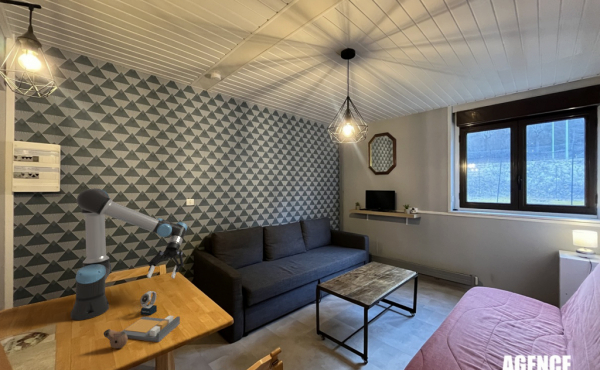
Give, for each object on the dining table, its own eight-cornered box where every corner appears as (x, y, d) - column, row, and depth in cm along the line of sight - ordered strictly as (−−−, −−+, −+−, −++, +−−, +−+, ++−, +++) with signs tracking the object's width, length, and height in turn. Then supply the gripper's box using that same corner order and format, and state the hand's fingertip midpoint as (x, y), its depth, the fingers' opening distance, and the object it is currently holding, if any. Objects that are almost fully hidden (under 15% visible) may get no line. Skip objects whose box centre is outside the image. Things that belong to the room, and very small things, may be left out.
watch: (137, 316, 123) (138, 295, 123) (150, 308, 131) (150, 288, 131) (147, 317, 122) (147, 296, 122) (159, 309, 130) (159, 289, 130)
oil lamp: (100, 352, 97) (100, 332, 97) (106, 345, 101) (106, 326, 101) (124, 350, 99) (125, 330, 99) (129, 343, 103) (130, 324, 103)
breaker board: (118, 336, 107) (118, 327, 107) (143, 319, 121) (143, 311, 121) (158, 342, 104) (159, 332, 104) (179, 323, 118) (179, 315, 118)
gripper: (195, 247, 156) (184, 280, 141) (156, 247, 155) (141, 280, 140) (192, 241, 150) (180, 274, 135) (151, 241, 150) (135, 274, 135)
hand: (160, 277), depth 138 cm, fingers open, 13 cm apart
